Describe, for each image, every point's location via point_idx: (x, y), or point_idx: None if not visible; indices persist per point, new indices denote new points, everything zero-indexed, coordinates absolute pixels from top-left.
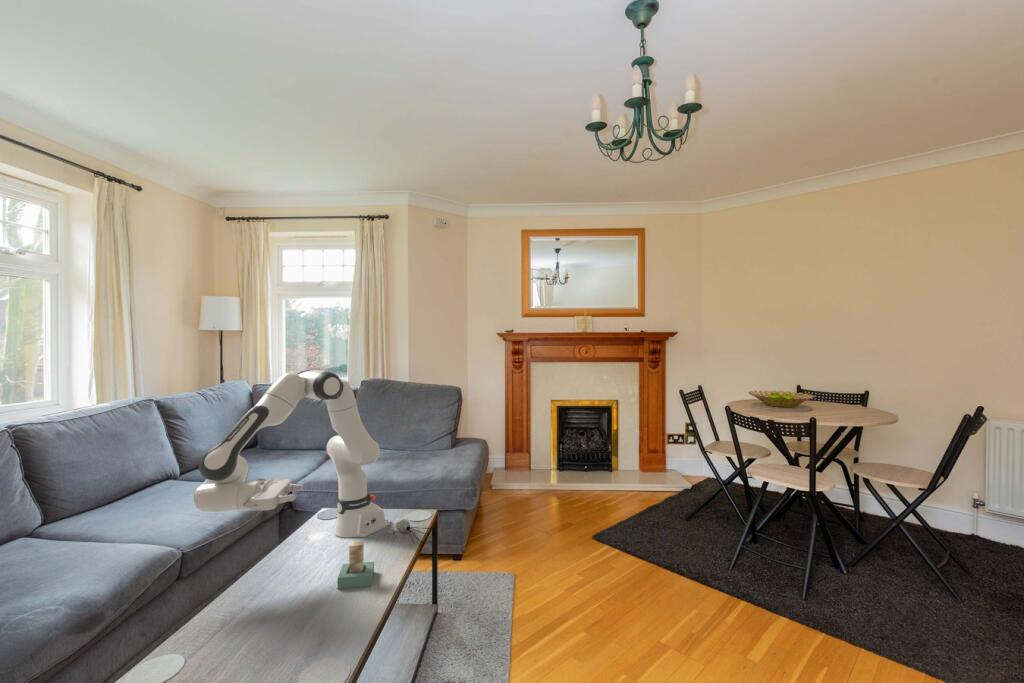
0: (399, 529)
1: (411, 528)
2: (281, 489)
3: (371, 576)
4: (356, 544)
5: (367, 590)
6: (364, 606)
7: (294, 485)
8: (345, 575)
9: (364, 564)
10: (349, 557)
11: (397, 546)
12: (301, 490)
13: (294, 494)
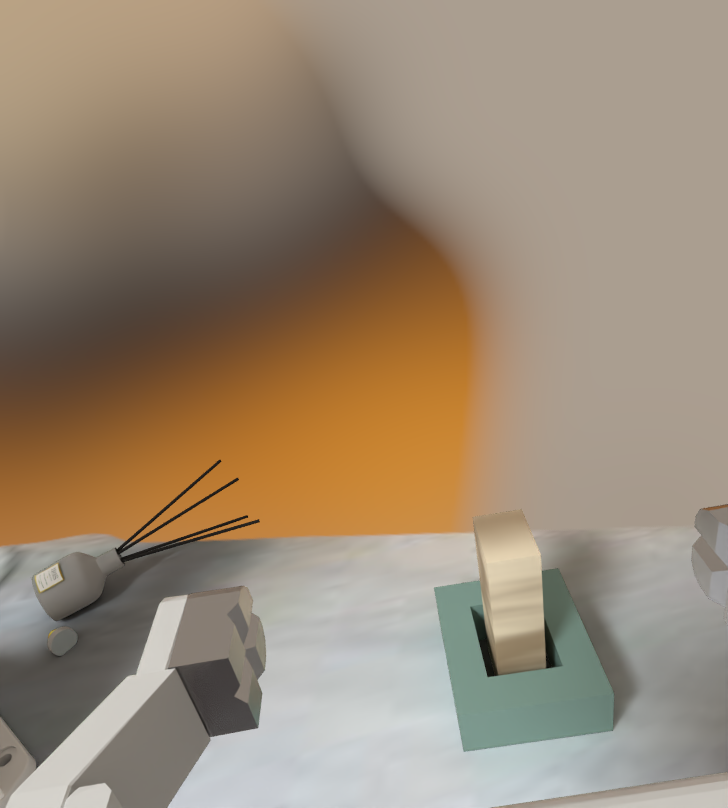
0: (89, 597)
1: (145, 536)
2: (688, 790)
3: None
4: (517, 531)
5: (595, 604)
6: None
7: (131, 730)
8: (580, 664)
9: (463, 614)
10: (542, 601)
11: None
12: (261, 639)
13: (716, 506)
